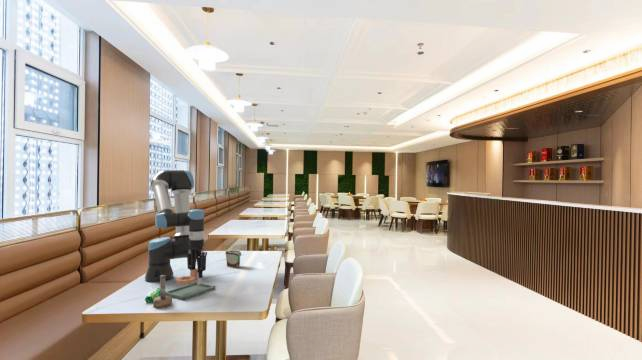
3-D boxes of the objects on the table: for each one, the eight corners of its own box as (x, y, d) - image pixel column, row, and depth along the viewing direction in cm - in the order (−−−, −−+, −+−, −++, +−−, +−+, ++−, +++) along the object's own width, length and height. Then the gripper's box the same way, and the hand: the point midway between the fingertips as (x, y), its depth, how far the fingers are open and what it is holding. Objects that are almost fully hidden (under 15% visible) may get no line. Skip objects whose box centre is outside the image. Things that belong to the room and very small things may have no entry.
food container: (245, 266, 236) (245, 251, 235) (238, 268, 230) (238, 253, 230) (232, 264, 242) (232, 249, 242) (225, 266, 237) (225, 251, 237)
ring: (172, 283, 179) (172, 273, 179) (193, 277, 191) (193, 267, 191) (184, 285, 175) (184, 275, 175) (205, 279, 186) (205, 269, 186)
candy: (154, 293, 180) (158, 286, 180) (160, 296, 180) (164, 290, 180) (143, 301, 168) (148, 294, 168) (149, 305, 168) (154, 298, 168)
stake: (149, 306, 164) (149, 276, 163) (164, 300, 171) (164, 272, 170) (160, 309, 160) (160, 279, 160) (175, 303, 167) (175, 275, 166)
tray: (184, 300, 171) (184, 297, 171) (163, 295, 179) (163, 292, 179) (215, 289, 189) (215, 286, 189) (195, 284, 196) (195, 281, 196)
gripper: (179, 238, 188) (180, 282, 188) (201, 241, 179) (202, 287, 179) (191, 236, 194) (191, 279, 194) (213, 239, 186) (213, 283, 186)
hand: (196, 283), depth 187 cm, fingers closed on ring, 3 cm apart
